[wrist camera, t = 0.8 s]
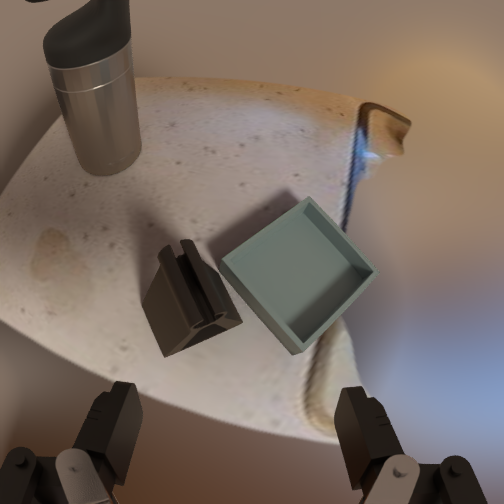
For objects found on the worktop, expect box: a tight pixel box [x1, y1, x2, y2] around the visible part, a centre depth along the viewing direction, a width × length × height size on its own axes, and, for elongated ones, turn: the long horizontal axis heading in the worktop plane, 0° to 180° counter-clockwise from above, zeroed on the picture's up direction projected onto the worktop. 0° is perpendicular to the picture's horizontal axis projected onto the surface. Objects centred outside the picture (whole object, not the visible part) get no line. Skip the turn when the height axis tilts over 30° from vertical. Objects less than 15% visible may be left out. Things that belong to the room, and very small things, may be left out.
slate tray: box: [219, 196, 380, 356], centre depth 35 cm, size 12×13×4 cm
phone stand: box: [142, 239, 243, 358], centre depth 27 cm, size 9×6×12 cm, turn 117°
